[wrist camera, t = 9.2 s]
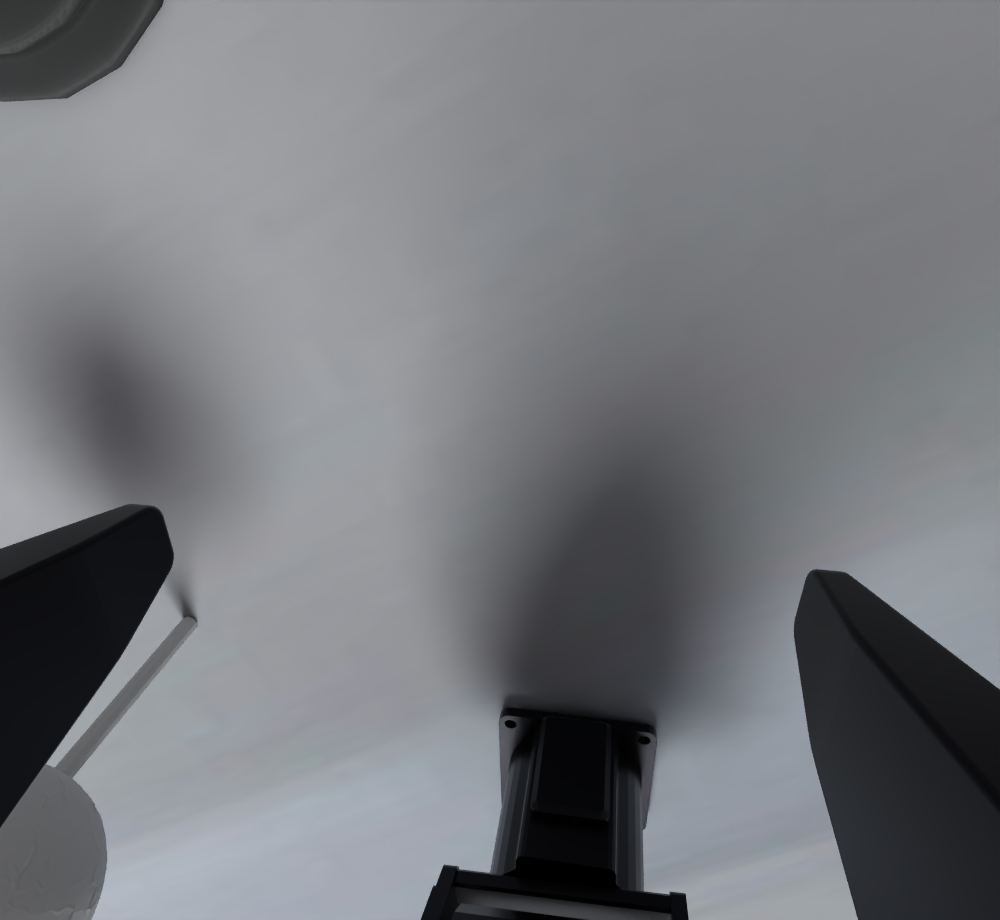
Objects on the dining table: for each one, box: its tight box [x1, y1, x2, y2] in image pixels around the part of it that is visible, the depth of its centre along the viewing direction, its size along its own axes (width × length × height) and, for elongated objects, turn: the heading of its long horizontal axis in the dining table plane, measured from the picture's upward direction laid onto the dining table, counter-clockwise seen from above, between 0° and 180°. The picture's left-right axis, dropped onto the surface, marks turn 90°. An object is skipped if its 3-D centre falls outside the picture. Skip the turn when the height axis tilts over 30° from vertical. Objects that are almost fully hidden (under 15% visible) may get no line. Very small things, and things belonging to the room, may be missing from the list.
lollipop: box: [0, 616, 197, 920], centre depth 23 cm, size 7×7×15 cm
